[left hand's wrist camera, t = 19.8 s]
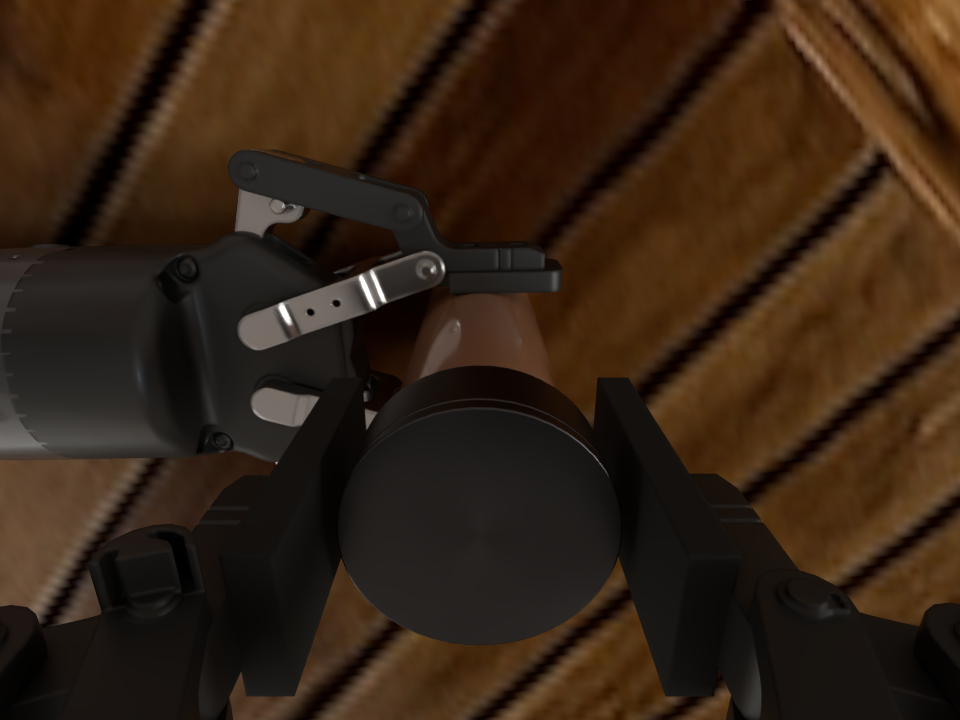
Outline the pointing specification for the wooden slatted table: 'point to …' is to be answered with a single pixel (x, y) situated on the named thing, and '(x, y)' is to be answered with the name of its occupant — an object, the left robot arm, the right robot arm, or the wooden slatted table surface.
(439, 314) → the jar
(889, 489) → the wooden slatted table surface
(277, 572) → the left robot arm
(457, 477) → the lid
